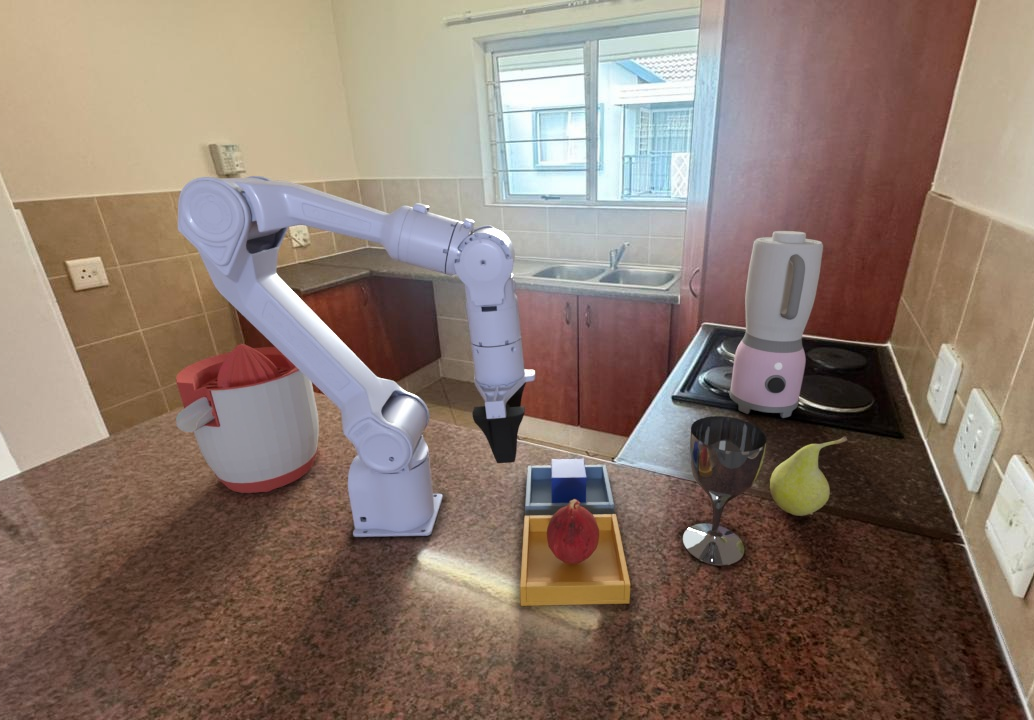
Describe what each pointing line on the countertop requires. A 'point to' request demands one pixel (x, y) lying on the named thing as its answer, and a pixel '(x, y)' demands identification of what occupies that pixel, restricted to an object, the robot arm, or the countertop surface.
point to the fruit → (801, 481)
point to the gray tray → (541, 503)
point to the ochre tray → (573, 568)
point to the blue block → (568, 480)
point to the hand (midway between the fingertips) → (508, 444)
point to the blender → (776, 322)
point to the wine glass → (722, 480)
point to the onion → (573, 533)
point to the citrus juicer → (250, 417)
